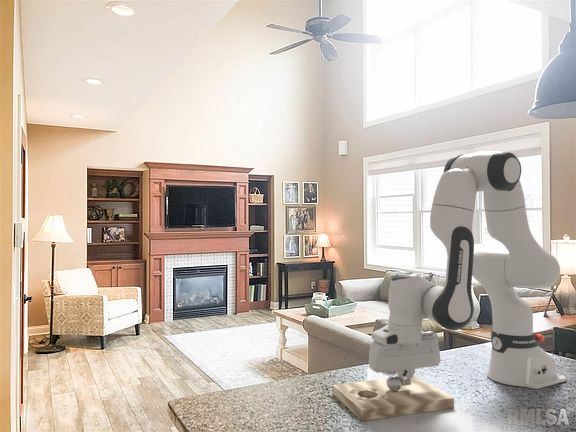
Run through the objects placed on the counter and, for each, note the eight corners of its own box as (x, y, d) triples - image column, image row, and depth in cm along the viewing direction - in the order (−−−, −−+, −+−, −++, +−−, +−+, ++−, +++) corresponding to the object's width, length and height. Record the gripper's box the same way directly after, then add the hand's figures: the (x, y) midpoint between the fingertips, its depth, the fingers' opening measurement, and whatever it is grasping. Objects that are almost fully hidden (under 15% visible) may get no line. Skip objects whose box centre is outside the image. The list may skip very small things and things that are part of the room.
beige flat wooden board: (414, 384, 137) (414, 375, 137) (454, 407, 119) (454, 397, 119) (332, 394, 129) (332, 385, 129) (362, 420, 111) (362, 410, 111)
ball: (394, 371, 127) (382, 376, 125) (403, 376, 123) (390, 381, 122) (397, 385, 127) (385, 390, 126) (406, 390, 123) (393, 395, 122)
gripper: (431, 328, 132) (431, 377, 131) (365, 333, 125) (366, 385, 125) (445, 333, 126) (445, 384, 125) (377, 339, 119) (377, 393, 119)
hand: (405, 385), depth 125 cm, fingers closed
